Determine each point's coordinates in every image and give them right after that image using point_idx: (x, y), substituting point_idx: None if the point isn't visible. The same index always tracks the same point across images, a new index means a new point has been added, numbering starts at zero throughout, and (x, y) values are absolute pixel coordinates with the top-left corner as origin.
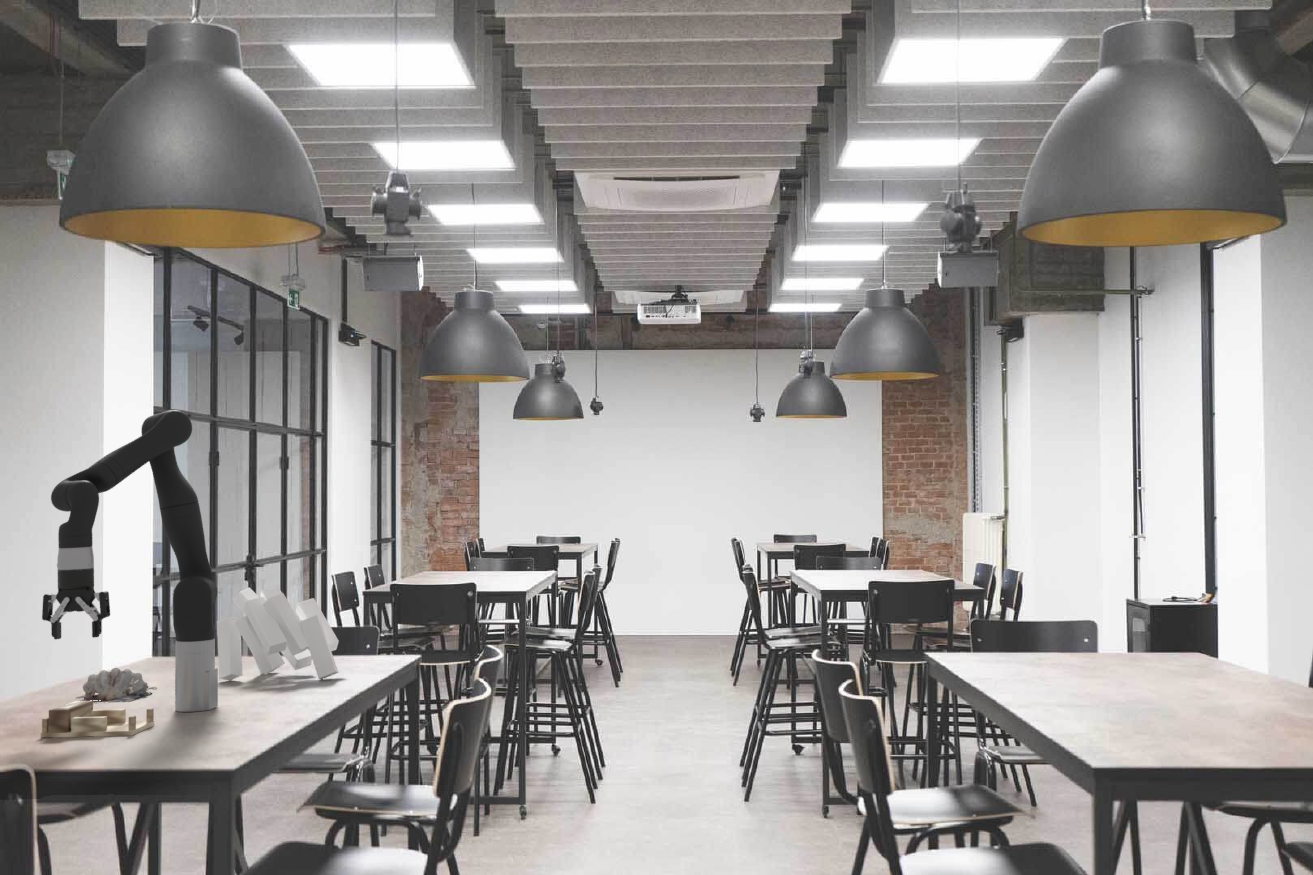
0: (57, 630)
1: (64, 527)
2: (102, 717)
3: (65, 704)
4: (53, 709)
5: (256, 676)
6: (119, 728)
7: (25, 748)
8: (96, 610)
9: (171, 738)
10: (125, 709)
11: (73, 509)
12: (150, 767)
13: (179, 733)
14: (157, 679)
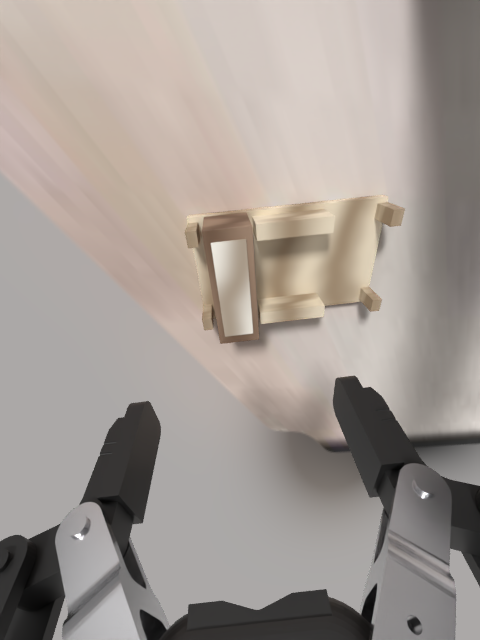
0: (151, 469)
1: None
2: (319, 315)
3: (211, 281)
4: (225, 337)
5: None
6: (335, 279)
7: (235, 375)
8: (440, 574)
9: (430, 316)
10: (334, 216)
11: None
12: (420, 431)
13: (441, 279)
14: None
